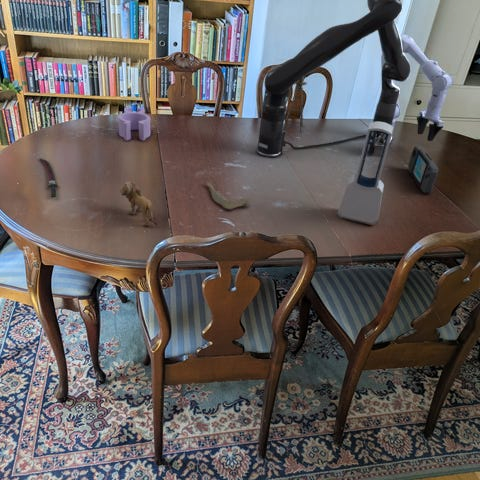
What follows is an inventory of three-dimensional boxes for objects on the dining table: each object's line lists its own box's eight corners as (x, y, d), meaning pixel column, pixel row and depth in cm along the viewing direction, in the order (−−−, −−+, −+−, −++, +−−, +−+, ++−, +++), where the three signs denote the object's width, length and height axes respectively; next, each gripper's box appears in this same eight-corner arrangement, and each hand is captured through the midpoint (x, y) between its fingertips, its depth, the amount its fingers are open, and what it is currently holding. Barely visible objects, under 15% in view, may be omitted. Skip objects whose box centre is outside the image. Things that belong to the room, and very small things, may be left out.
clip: (120, 122, 199) (119, 106, 195) (149, 123, 202) (149, 107, 198) (118, 140, 183) (117, 123, 179) (151, 140, 185) (150, 123, 181)
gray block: (376, 151, 199) (379, 141, 196) (380, 156, 195) (383, 145, 192) (367, 151, 198) (370, 140, 195) (371, 155, 194) (373, 144, 192)
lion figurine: (118, 210, 138) (116, 182, 133) (132, 204, 141) (131, 177, 137) (151, 229, 130) (150, 201, 126) (165, 223, 134) (165, 195, 129)
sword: (61, 197, 141) (61, 193, 140) (50, 198, 139) (50, 194, 139) (49, 160, 164) (48, 156, 163) (39, 160, 163) (39, 157, 162)
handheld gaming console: (406, 168, 186) (413, 144, 180) (412, 169, 186) (420, 145, 180) (423, 194, 166) (432, 168, 161) (430, 195, 166) (439, 169, 161)
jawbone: (235, 216, 142) (236, 211, 141) (188, 193, 152) (187, 188, 151) (254, 205, 147) (254, 199, 146) (207, 183, 158) (207, 178, 157)
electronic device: (378, 217, 149) (404, 126, 133) (375, 228, 143) (403, 134, 127) (339, 207, 152) (360, 117, 136) (335, 218, 146) (357, 125, 130)
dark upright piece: (301, 132, 210) (312, 62, 194) (282, 129, 211) (292, 60, 195) (302, 125, 218) (314, 58, 201) (285, 123, 219) (294, 56, 202)
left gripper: (384, 107, 194) (374, 145, 203) (367, 113, 184) (358, 153, 193) (401, 112, 190) (390, 151, 199) (384, 118, 180) (374, 159, 189)
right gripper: (416, 99, 195) (407, 131, 202) (436, 110, 183) (426, 143, 191) (431, 100, 197) (421, 131, 204) (452, 111, 185) (440, 143, 192)
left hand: (374, 151), depth 196 cm, fingers closed on gray block, 6 cm apart
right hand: (424, 137), depth 197 cm, fingers open, 7 cm apart
